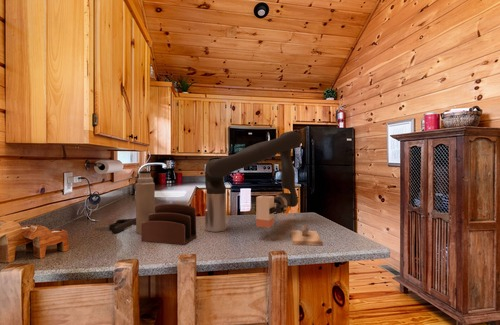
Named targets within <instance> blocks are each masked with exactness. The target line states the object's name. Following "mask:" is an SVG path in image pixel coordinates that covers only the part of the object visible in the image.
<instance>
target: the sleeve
mask: <svg viewBox="0 0 500 325" xmlns="http://www.w3.org/2000/svg"><path fill="white" fill-rule="evenodd" d="M274 197H275V196H274V195H273V196H272V195H260V196H256V199H255V200H256V203H255V204H256V212H255V214H256V215H255V216H256V217H255V218H256V220H255V223H256V225H255V227H258V228H267V229H270V228H271V227H273V226H274V225H275V214H274V213H272V214H269V209H270V208H272V207H274Z"/></svg>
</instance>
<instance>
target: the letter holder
mask: <svg viewBox="0 0 500 325" xmlns="http://www.w3.org/2000/svg"><path fill="white" fill-rule="evenodd" d="M196 212H197V210H196V207H194V206H193V205H187V204H179V203H163V204H156V205H155V213H152V214H149V216H148V221H146V222H143V223H142V225H141V234H140V235H141V237H140V238H141V239H140V241H141V242H144V243H145V242H147V243H157V244H159V243H160V244H169V245H170V244H171V245H181V246H185V245H187V244H189V243H190V242H192V241H193V240H194V239H196V238H197V215H196V214H197V213H196Z"/></svg>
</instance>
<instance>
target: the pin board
mask: <svg viewBox="0 0 500 325" xmlns="http://www.w3.org/2000/svg"><path fill="white" fill-rule="evenodd" d="M301 226H302V227H301V228H302V229H301V230H290V236H291V237H290V238H291V243H292V245H295V246H296V245H298V246H299V245H300V246H323V240H322V239H321V237H320V236H319V234H318V231H317V230H309V225H306V224H302V225H301Z"/></svg>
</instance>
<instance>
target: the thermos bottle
mask: <svg viewBox="0 0 500 325" xmlns="http://www.w3.org/2000/svg"><path fill="white" fill-rule="evenodd" d="M155 184H156V183H155V182H154V178H153V177H152V172H151V170H141V171H139V177H138V178H137V182H136V183H135V218H136V224H135V227H136V228H135V229H136V230H135V233H136V234H140V235H141V225H142V223H143V222H146V221H148V216H149V214H152V213H155V206H156V205H155V204H156V203H155V199H156V198H155V197H156V193H155V192H156V190H155V188H156V187H155Z"/></svg>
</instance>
